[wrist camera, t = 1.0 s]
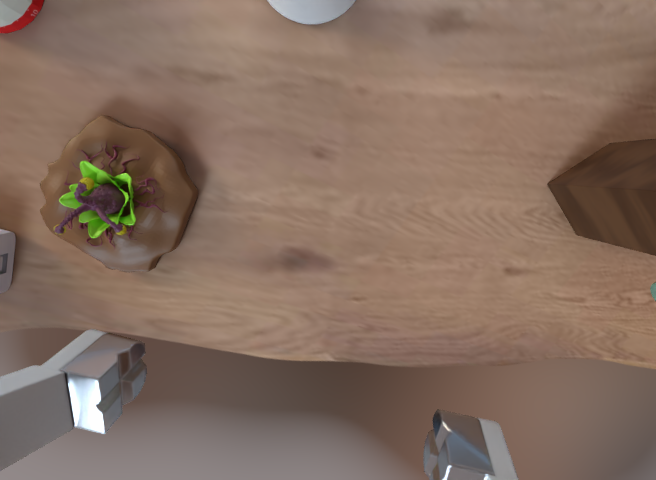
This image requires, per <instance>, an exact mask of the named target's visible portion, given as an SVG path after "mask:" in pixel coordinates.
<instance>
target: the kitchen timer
mask: <svg viewBox="0 0 656 480" xmlns="http://www.w3.org/2000/svg"><path fill="white" fill-rule="evenodd" d="M43 2H44V0H0V33H10V32H13V31H17V30H20V29H22V28H23V27H25V26H26V25H28V24H29V23H30V22H32V21H33V20H34V18H35V17H36V15H37V14H38V13H39V11H40V10H41V8H42V5H43Z"/></svg>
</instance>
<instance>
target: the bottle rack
mask: <svg viewBox="0 0 656 480" xmlns="http://www.w3.org/2000/svg"><path fill="white" fill-rule="evenodd" d="M547 185H548V186H549V188H550V190H551V192H552V193H553V195H554V197H555V199H556V200H557V202H558V204H559V205H560V207H561V209H562V211H563V212H564V214H565V216H566V218H567V219H568V221H569V223H570V224H571V226H572V228H573V230H574V231H575V233H576V235H578V236H582V237H586V238H589V239H593V240H597V241H601V242H605V243H609V244H613V245H616V246H620V247H624V248H628V249H632V250H636V251H640V252H643V253H647V254H651V255H655V256H656V139H647V140H637V141H627V142H617V143H610V144H608V145H607V146H605V147H604V148H602V149H601V150H599V151H597V152H596V153H594V154H593V155H591V156H590V157H588V158H587V159H585V160H584V161H582V162H581V163H579V164H577V165H576V166H574V167H573V168H571V169H570V170H568V171H567V172H565V173H564V174H562V175H561V176H559V177H557V178H556V179H554V180H553V181H551V182H550V183H548V184H547Z"/></svg>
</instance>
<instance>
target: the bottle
mask: <svg viewBox="0 0 656 480" xmlns="http://www.w3.org/2000/svg"><path fill="white" fill-rule="evenodd" d="M650 290H651V294H652V296H653V298H654V300H655V301H656V282H655V283H653V284H652V285H651V288H650Z"/></svg>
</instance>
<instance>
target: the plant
mask: <svg viewBox="0 0 656 480" xmlns="http://www.w3.org/2000/svg"><path fill="white" fill-rule="evenodd" d="M40 187H41V190H42V192H43V194H44V196H45V199H46V204H45V205H44V206H43V207H42V208H41V209H40V212H41V215H42V217H43V220H44V222H45V223H46V225H47V227H48V228H49V229H50V230H51V232H53V233H54V234H55V235H56V236H58V237H60V238H61V239H63V240H65V241H67V242H69V243H70V244H72V245H74V246H76V247H77V248H79V249H80V250H82V251H83V252H85V253H87V254H88V255H90V256H92V257H94V258H96V259H97V260H99V261H101V262H102V263H103V264H104V265H105V266H106V267H107V268H109V269H116V270H120V271H124V272H134V271H150V270H152V269H154V268H155V267H156V265H157V261H158V259H159V258H160V256H161V255H163V254H165V253H168V252H171V251H173V250H175V249H176V248H177V247H178V245H179V243H180V241H181V237H182V235H183V233H184V230H185V227H186V225H187V222H188V219H189V216H190V214H191V212H192V209H193V207H194V205H195V202H196V199H197V196H198V190H197V189H196V187H195V186H194V184H193V183H192V181H191V180H190V178H189V177H188V175H187V173H186V170H185V167H184V164H183V162H182V161H181V159H180V158H179V157H178V155H177V154H176V153H175V152H174V151H173V150H172V149H171V148H169V147H168V146H167V145H166V144H164V143H163V142H162V141H161V140H159V139H158V138H157V137H156V136H155V135H154V134H152V133H151V132H149V131H147V130H143V129H136V128H129V127H127V126H125V125H123V124H121V123H119V122H117V121H116V120H114V119H113V118H111V117H109V116H104V115H101V116H99V117H98V118H97V119H95V120H93V121H91V122H90V123H89V124H88V125H87V126H86V127H85V128H84V129H83V130H82V131H81V132H80V133H79V134H78V135H77V136H75V137H74V138H72V139H71V140H70V141H69V142H68V144H67V145H66V147H65V149H64V151H63V153H62V155H61V157H60V158H59V159H58V160H57V161H55V162H52V163H49V164H48V175H47V176H46V177H45V178H44V179H43V180H42V181H41V183H40Z"/></svg>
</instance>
